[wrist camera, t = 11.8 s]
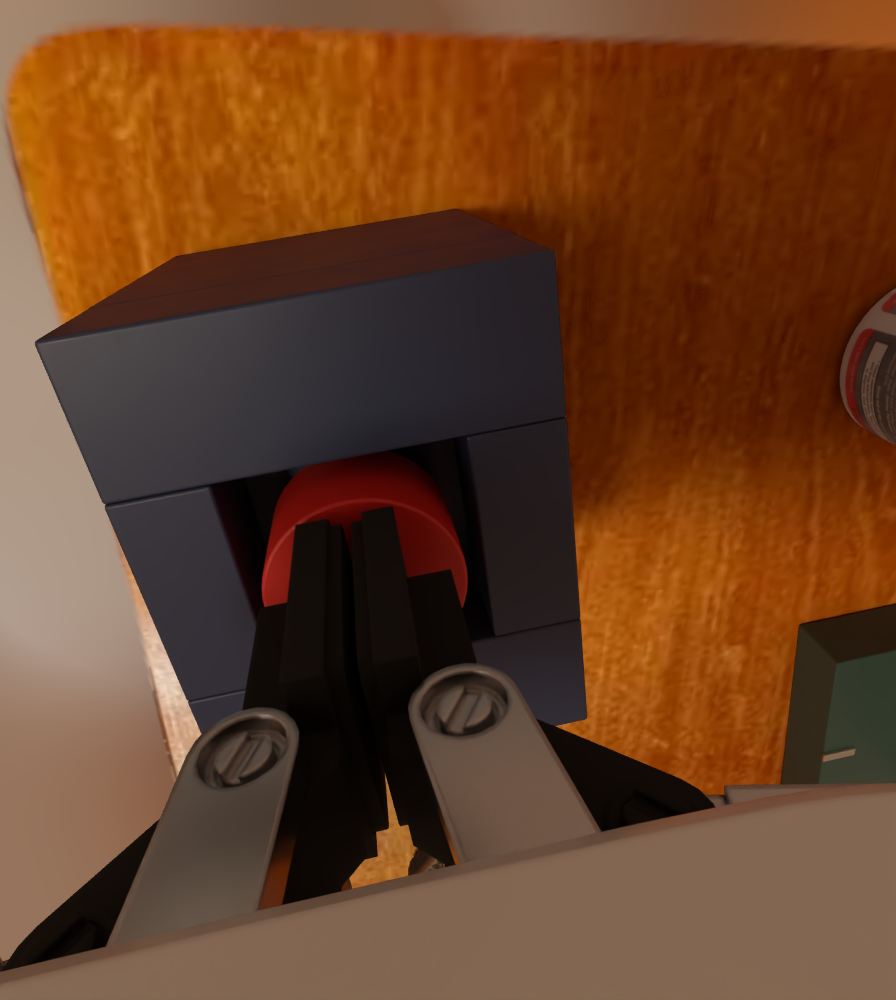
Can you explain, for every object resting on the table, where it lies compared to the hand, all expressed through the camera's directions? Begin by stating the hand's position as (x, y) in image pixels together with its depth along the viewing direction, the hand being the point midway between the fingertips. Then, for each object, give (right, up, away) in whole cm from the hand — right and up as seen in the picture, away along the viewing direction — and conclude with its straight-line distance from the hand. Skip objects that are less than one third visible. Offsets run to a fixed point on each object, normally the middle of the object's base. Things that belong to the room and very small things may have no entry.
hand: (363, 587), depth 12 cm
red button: (0, +1, +2) cm, 2 cm away
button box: (-1, +5, +10) cm, 11 cm away
